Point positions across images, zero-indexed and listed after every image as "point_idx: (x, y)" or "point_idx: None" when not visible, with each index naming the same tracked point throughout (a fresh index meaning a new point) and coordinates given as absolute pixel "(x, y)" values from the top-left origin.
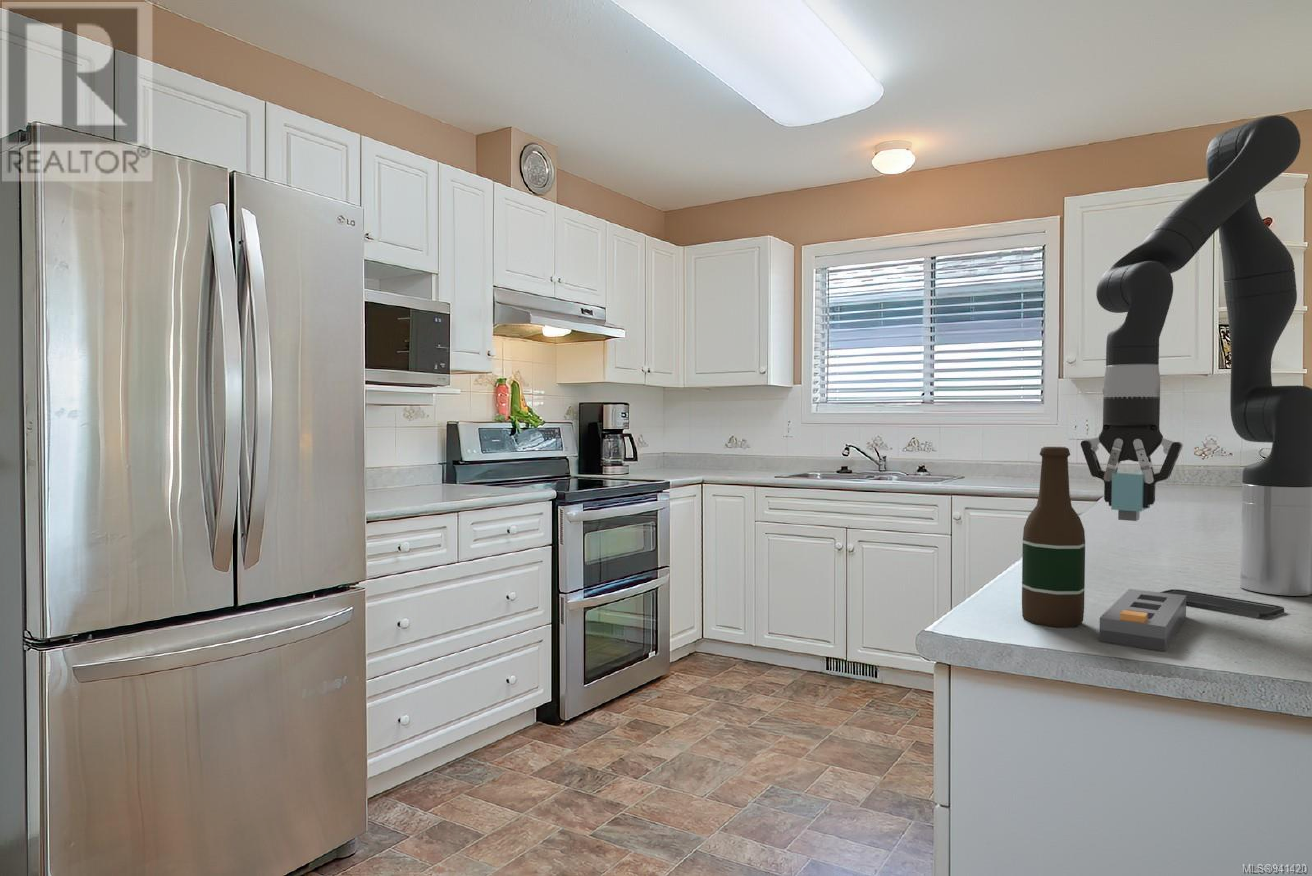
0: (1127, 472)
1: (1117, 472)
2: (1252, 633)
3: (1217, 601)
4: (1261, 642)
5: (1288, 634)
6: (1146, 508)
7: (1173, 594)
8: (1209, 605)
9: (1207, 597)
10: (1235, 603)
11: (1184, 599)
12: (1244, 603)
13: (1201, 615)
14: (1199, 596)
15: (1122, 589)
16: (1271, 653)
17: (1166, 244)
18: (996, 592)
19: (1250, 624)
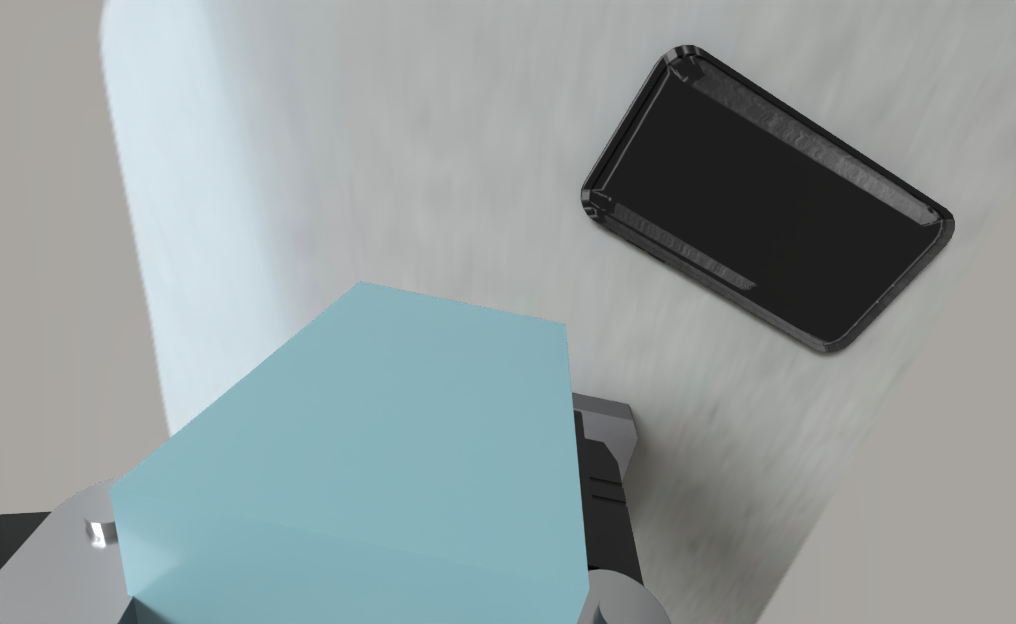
0: (268, 532)
1: (144, 601)
2: (734, 499)
3: (767, 212)
4: (724, 558)
5: (813, 481)
6: (564, 328)
7: (605, 439)
8: (719, 292)
9: (756, 150)
10: (817, 217)
11: (624, 473)
12: (849, 203)
13: (671, 370)
14: (733, 144)
15: (495, 55)
16: (712, 616)
17: None
18: (174, 314)
19: (764, 420)
